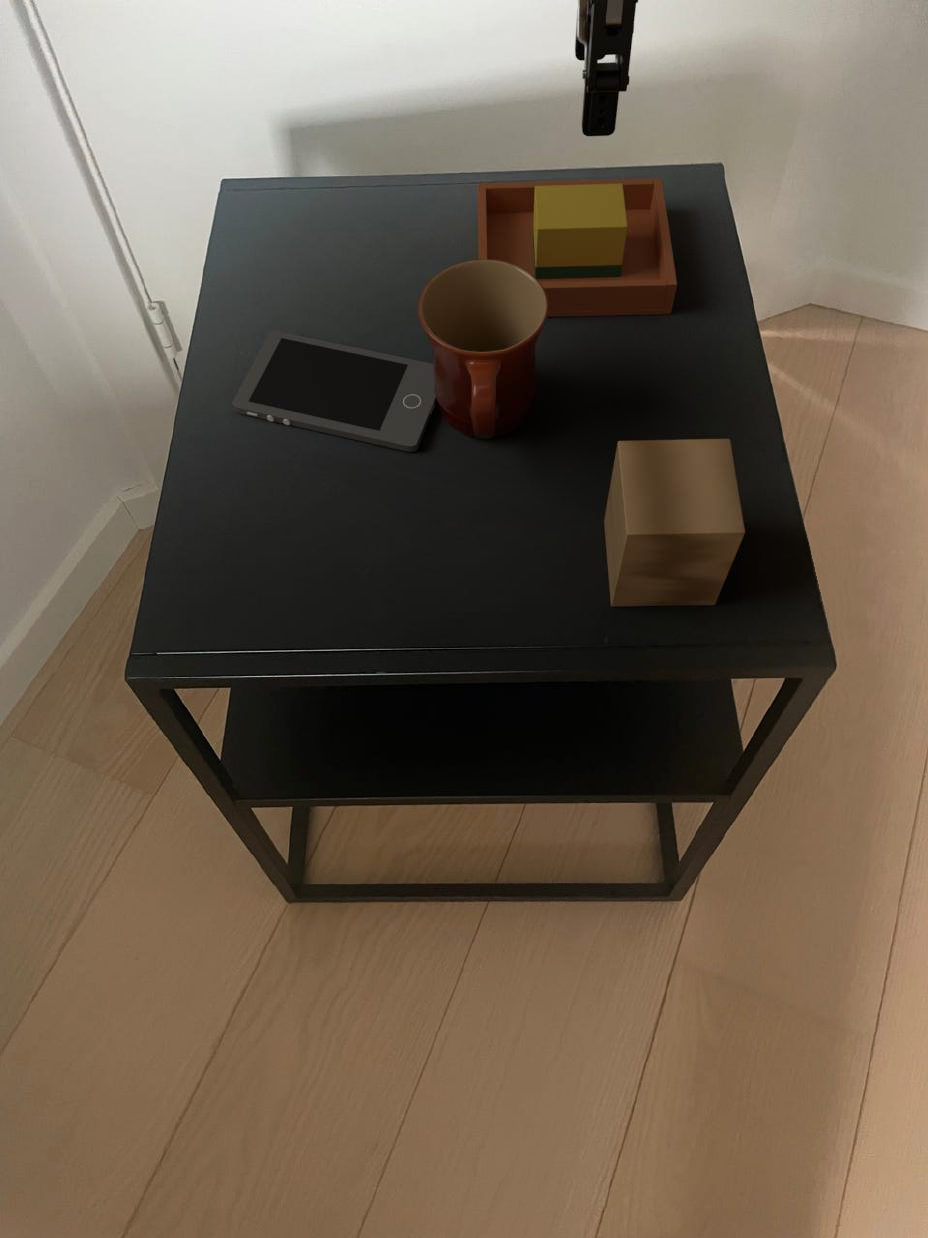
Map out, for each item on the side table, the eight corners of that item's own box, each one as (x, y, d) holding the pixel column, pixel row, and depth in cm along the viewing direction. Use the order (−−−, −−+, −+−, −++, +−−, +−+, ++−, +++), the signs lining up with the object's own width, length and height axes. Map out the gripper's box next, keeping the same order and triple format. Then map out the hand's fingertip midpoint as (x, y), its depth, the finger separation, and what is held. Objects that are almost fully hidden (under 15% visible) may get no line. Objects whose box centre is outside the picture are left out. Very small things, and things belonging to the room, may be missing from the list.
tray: (656, 208, 83) (661, 177, 80) (670, 314, 77) (677, 284, 74) (478, 213, 83) (477, 182, 80) (479, 318, 77) (478, 289, 75)
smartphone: (230, 412, 73) (228, 406, 73) (271, 335, 77) (269, 329, 76) (415, 454, 71) (414, 448, 70) (448, 372, 74) (448, 366, 74)
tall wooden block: (703, 518, 68) (730, 438, 60) (715, 605, 64) (745, 532, 56) (603, 520, 68) (617, 440, 60) (610, 607, 65) (626, 534, 57)
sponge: (616, 234, 80) (622, 182, 76) (620, 277, 78) (627, 226, 74) (532, 236, 81) (534, 185, 76) (534, 279, 78) (537, 228, 74)
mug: (429, 363, 75) (420, 259, 66) (541, 362, 75) (546, 257, 66) (424, 488, 70) (413, 393, 61) (545, 487, 69) (552, 392, 60)
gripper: (701, -125, 49) (657, 158, 63) (673, -250, 56) (638, 31, 70) (555, -119, 49) (543, 162, 64) (544, -244, 56) (536, 35, 70)
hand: (593, 93), depth 67 cm, fingers open, 8 cm apart
